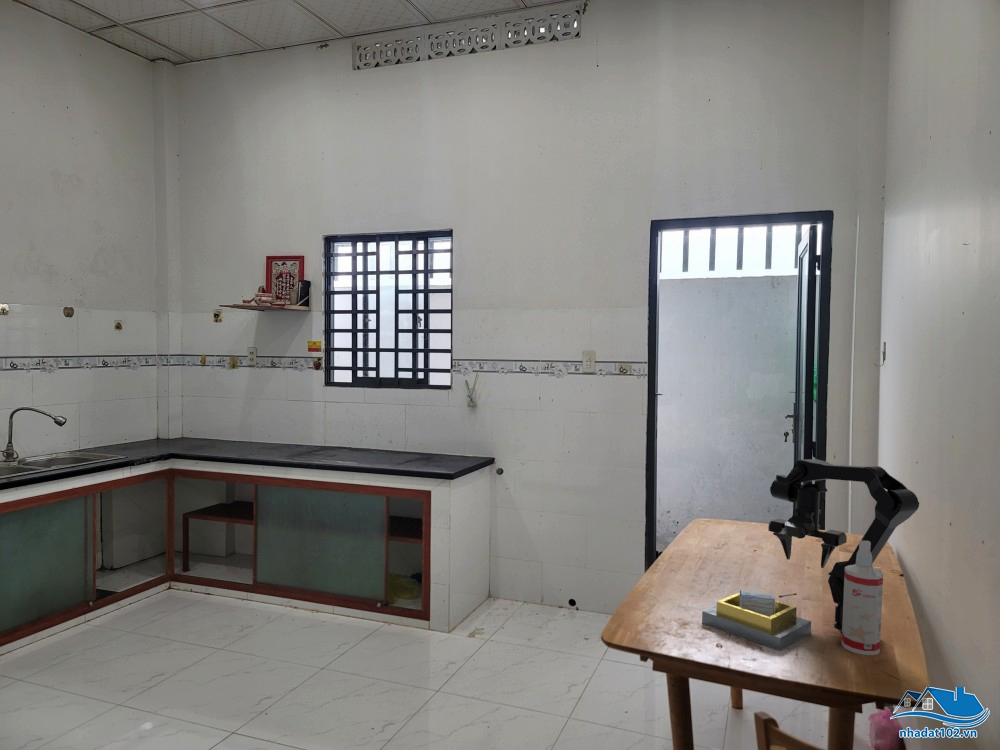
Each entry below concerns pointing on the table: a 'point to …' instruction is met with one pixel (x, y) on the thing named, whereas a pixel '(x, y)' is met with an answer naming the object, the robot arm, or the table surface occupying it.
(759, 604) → the medicine box
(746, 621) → the gold and grey tray
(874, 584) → the white squeeze bottle
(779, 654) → the table surface
